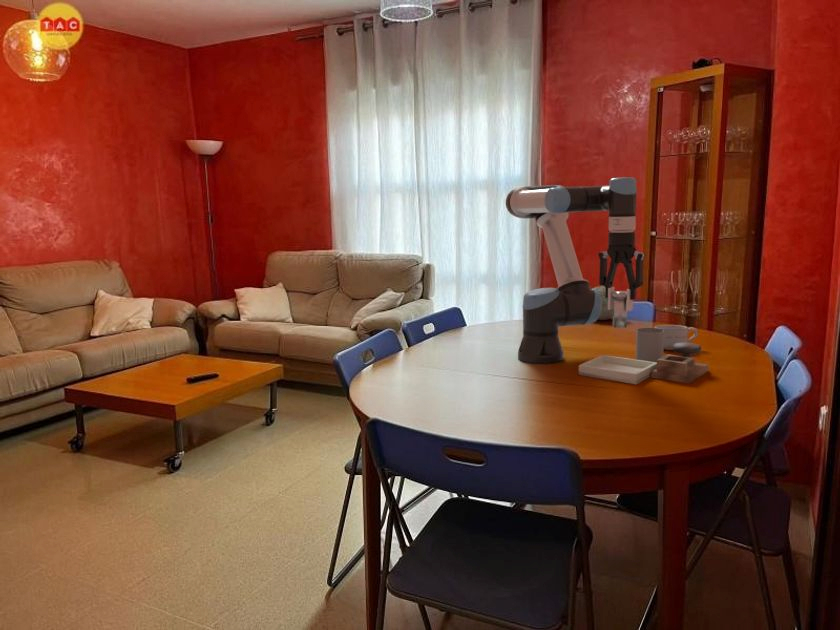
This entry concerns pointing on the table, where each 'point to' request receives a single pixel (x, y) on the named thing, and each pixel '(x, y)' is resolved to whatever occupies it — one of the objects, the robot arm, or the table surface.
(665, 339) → the teacup
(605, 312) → the decorative sphere
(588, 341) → the table surface
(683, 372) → the block
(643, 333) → the cup
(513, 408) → the table surface
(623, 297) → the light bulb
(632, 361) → the tray
